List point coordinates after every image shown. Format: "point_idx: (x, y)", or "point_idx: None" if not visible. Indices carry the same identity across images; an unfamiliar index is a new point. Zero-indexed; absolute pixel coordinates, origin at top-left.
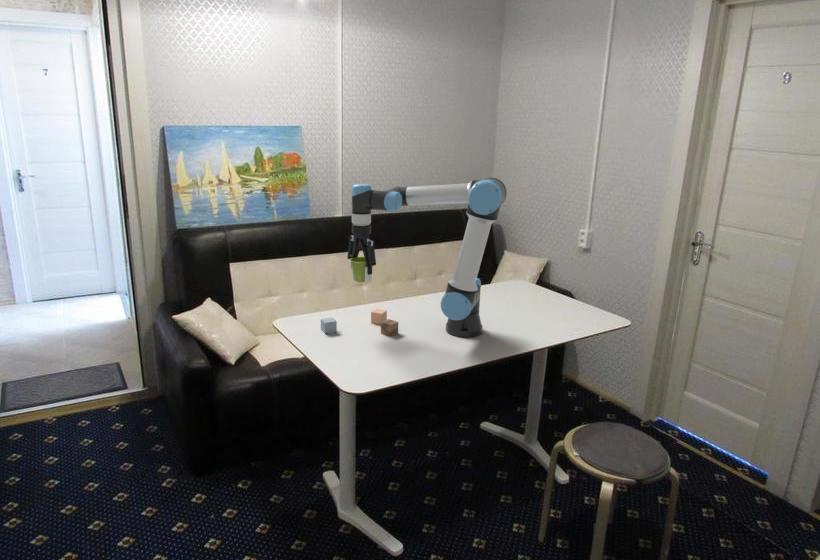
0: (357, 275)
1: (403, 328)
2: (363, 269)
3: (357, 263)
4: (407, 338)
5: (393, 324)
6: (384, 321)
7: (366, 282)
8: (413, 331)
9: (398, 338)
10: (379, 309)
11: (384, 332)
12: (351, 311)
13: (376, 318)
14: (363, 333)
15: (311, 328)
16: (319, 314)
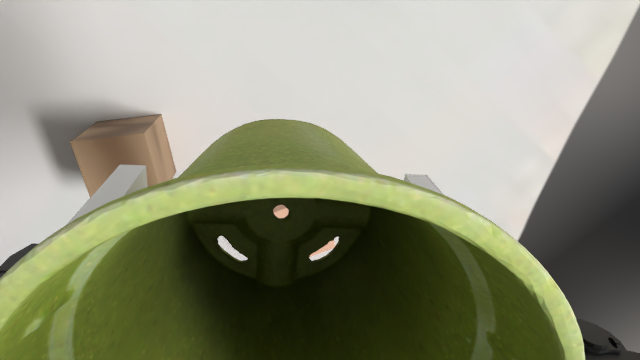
0: (228, 144)
1: None
2: (109, 256)
3: (108, 229)
4: (27, 166)
5: (80, 165)
6: (142, 155)
7: (120, 170)
8: None
9: (50, 134)
10: (316, 252)
11: (132, 120)
12: (487, 203)
13: None
14: (216, 47)
15: None
16: (585, 61)
